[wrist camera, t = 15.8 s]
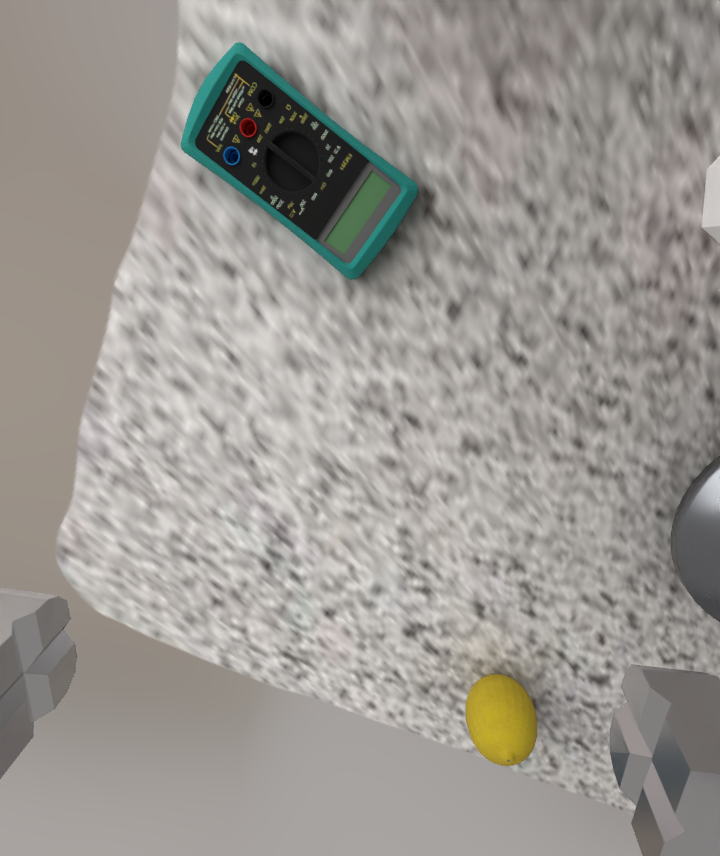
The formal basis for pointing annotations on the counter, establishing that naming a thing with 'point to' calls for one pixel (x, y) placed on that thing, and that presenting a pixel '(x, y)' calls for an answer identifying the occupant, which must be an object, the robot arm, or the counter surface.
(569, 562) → the counter surface
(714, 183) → the mug
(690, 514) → the plate
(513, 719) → the lemon
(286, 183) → the digital multimeter
